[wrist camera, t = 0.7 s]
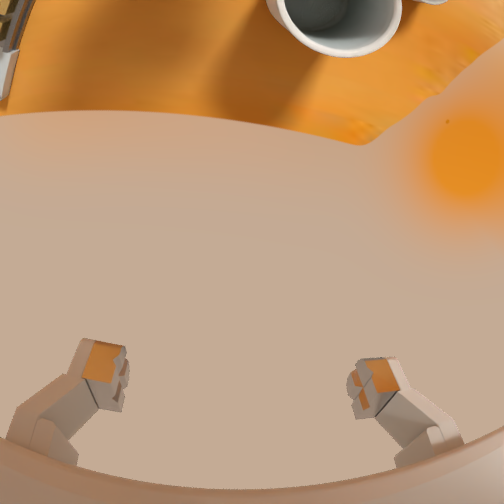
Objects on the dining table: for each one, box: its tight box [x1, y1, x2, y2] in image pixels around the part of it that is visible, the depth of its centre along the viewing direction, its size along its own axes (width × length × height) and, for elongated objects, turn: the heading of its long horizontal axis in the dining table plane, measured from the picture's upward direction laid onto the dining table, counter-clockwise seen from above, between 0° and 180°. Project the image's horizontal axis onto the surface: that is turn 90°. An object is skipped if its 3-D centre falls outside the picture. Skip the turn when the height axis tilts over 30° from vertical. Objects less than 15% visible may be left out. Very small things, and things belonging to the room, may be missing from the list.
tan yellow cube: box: [0, 0, 19, 15], centre depth 23 cm, size 4×4×4 cm
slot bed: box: [0, 0, 35, 53], centre depth 24 cm, size 17×10×3 cm, turn 146°
